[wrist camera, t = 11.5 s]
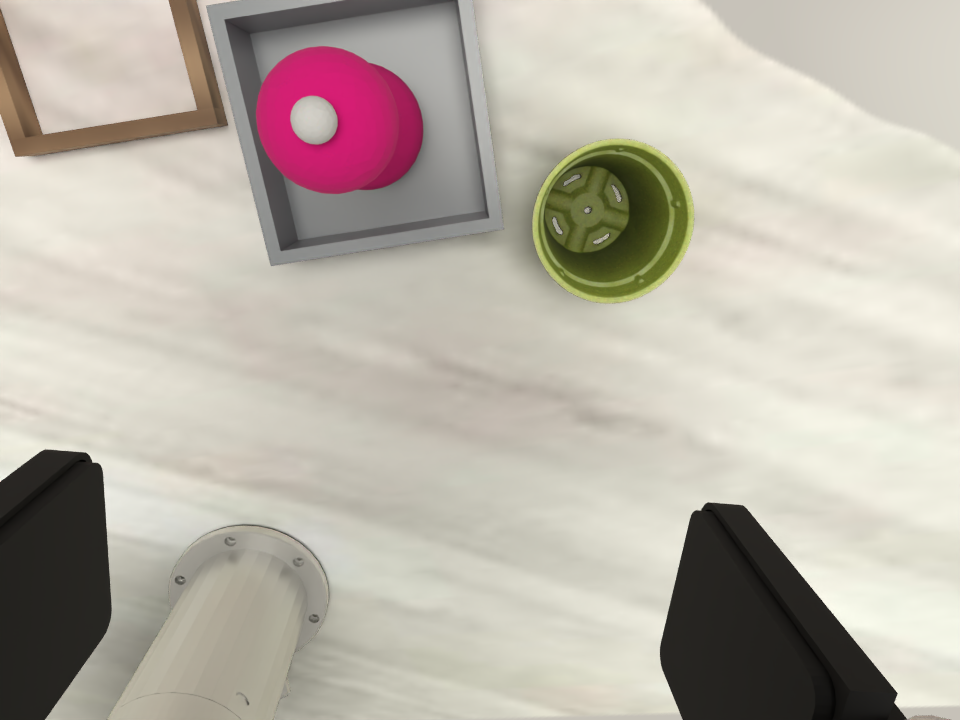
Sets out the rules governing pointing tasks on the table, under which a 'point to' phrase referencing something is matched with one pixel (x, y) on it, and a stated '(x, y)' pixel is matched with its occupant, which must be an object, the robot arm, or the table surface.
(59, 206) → the table surface
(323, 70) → the pepper mill
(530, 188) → the table surface
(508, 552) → the table surface
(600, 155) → the plant pot
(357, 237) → the bin
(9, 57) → the brown wooden picture frame
